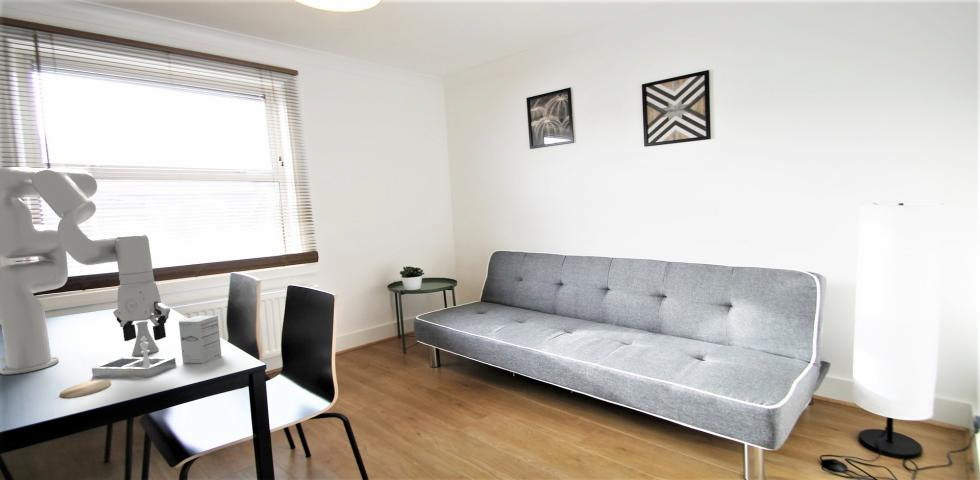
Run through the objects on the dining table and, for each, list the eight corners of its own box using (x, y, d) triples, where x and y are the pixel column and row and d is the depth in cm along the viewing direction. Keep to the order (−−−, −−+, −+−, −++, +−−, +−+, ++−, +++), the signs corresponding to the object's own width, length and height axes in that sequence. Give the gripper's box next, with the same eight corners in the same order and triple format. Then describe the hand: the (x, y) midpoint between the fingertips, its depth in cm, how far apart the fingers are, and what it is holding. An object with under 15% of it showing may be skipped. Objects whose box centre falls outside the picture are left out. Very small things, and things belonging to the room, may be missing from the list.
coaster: (49, 397, 117) (48, 395, 117) (89, 381, 127) (89, 379, 127) (82, 398, 116) (82, 396, 115) (121, 382, 125) (120, 380, 125)
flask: (155, 347, 157) (151, 318, 156) (162, 351, 152) (159, 321, 151) (128, 354, 151) (124, 323, 150) (135, 357, 147) (131, 326, 146)
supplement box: (181, 363, 139) (177, 321, 138) (202, 354, 146) (198, 314, 145) (202, 364, 137) (198, 321, 136) (222, 355, 144) (218, 314, 143)
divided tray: (92, 376, 131) (91, 368, 131) (123, 365, 140) (122, 357, 140) (148, 377, 128) (147, 368, 128) (176, 365, 137) (175, 357, 137)
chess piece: (146, 374, 130) (142, 339, 129) (132, 374, 131) (127, 339, 130) (162, 368, 135) (158, 334, 134) (148, 368, 136) (144, 334, 135)
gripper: (97, 282, 129) (106, 344, 130) (152, 279, 126) (160, 342, 127) (123, 278, 136) (131, 336, 137) (175, 275, 133) (183, 334, 134)
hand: (145, 339), depth 132 cm, fingers open, 9 cm apart
